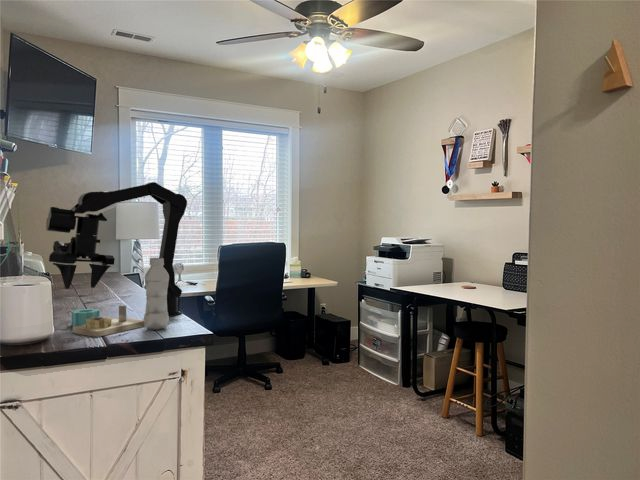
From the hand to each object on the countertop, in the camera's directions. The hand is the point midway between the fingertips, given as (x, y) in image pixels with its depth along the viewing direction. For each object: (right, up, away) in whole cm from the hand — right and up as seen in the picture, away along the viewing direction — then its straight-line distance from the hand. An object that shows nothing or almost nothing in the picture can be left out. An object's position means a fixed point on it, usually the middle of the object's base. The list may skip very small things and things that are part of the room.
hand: (80, 288), depth 132 cm
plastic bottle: (+24, -11, -4) cm, 27 cm away
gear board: (+11, -11, -5) cm, 16 cm away
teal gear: (+1, -11, +1) cm, 11 cm away
